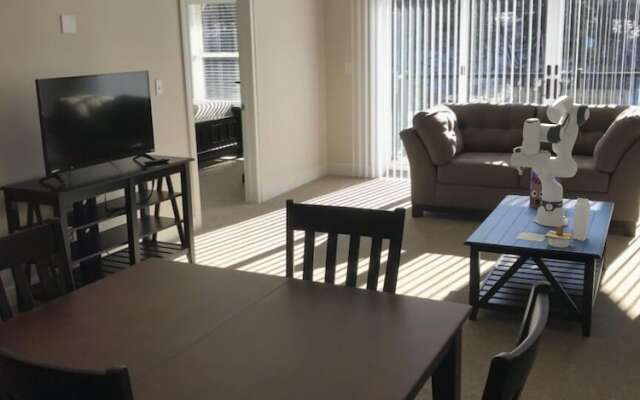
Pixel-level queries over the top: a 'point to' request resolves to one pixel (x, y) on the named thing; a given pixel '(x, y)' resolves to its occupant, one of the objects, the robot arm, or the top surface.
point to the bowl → (558, 243)
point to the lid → (559, 234)
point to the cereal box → (537, 190)
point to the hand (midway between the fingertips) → (529, 175)
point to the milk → (581, 219)
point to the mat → (531, 236)
